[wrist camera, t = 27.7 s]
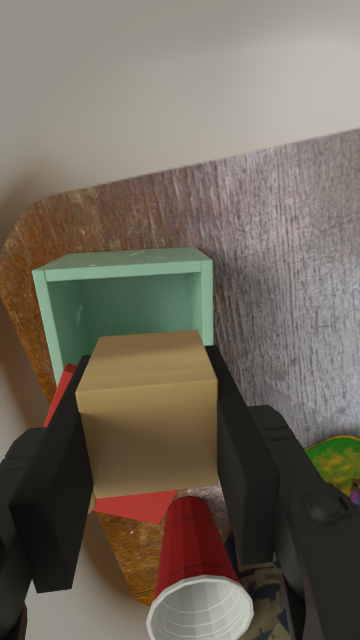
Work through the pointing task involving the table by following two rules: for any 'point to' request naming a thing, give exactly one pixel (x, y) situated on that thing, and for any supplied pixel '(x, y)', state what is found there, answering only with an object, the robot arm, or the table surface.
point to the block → (150, 413)
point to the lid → (128, 506)
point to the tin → (122, 298)
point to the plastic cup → (196, 580)
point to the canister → (261, 596)
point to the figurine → (339, 463)
